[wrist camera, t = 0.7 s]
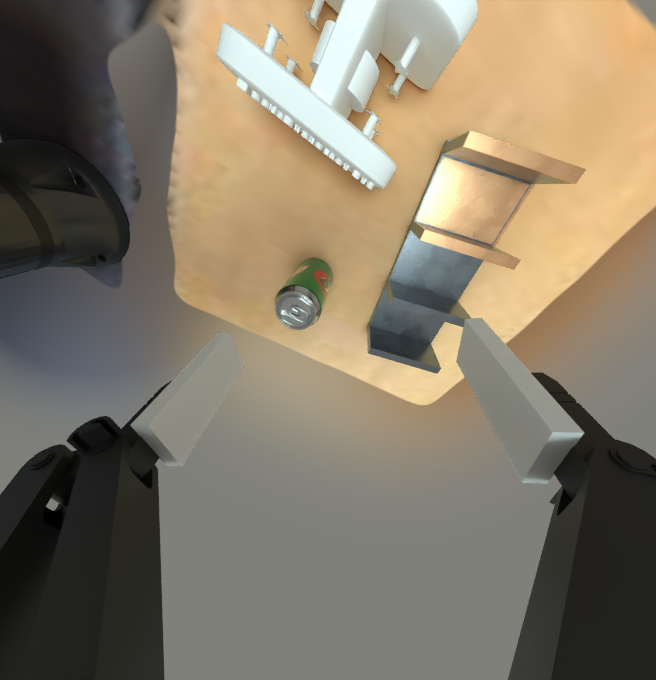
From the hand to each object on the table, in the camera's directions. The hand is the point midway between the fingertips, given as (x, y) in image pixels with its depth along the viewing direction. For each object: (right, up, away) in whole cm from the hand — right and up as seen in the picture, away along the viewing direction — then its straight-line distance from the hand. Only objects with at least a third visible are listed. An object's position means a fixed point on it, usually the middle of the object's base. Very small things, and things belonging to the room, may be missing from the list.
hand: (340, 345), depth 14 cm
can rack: (+13, +10, +18) cm, 25 cm away
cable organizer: (+1, +25, +10) cm, 27 cm away
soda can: (-2, +10, +21) cm, 23 cm away
